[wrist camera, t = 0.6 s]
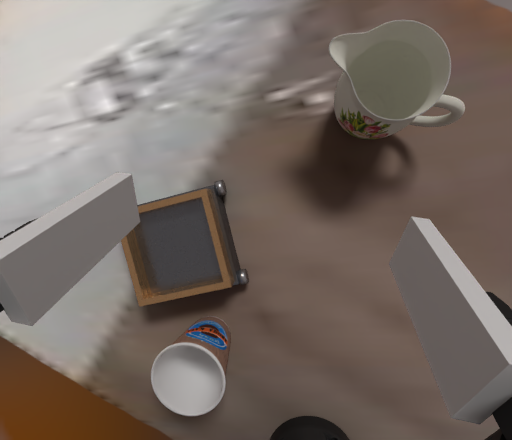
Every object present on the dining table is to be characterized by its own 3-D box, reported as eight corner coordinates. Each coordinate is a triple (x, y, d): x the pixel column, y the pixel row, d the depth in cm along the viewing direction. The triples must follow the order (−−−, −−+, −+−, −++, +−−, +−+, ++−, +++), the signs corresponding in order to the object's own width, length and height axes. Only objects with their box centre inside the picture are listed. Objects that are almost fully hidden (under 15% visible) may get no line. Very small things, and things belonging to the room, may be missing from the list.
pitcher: (409, 167, 41) (472, 151, 27) (301, 128, 42) (310, 94, 29) (440, 99, 40) (521, 46, 26) (328, 60, 41) (350, -9, 27)
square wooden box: (250, 279, 45) (244, 292, 39) (158, 298, 47) (138, 314, 41) (225, 180, 44) (215, 177, 38) (132, 205, 46) (108, 206, 40)
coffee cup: (248, 319, 46) (235, 361, 34) (229, 370, 47) (210, 428, 35) (194, 297, 46) (163, 331, 35) (176, 348, 48) (140, 398, 36)
